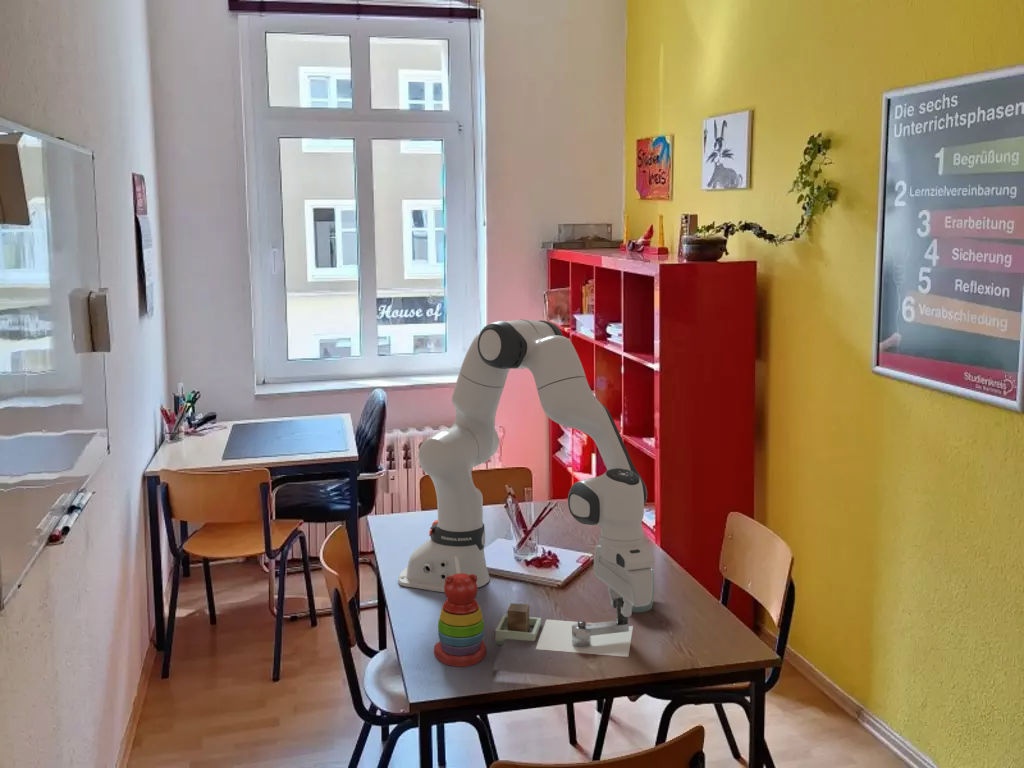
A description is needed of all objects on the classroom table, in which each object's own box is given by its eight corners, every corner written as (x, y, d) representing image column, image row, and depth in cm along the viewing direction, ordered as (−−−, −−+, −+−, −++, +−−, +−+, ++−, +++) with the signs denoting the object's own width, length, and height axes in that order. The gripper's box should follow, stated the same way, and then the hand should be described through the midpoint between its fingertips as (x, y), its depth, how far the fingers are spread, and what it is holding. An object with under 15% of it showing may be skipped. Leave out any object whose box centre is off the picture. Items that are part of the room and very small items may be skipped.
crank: (575, 647, 200) (575, 608, 198) (569, 639, 203) (569, 601, 202) (630, 640, 203) (631, 602, 201) (623, 633, 206) (624, 595, 205)
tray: (495, 644, 205) (495, 630, 205) (503, 627, 214) (503, 614, 213) (534, 647, 204) (534, 634, 203) (540, 630, 212) (541, 617, 212)
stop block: (507, 637, 207) (507, 610, 206) (511, 629, 211) (511, 603, 210) (526, 638, 206) (526, 612, 205) (529, 630, 210) (529, 604, 209)
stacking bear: (484, 644, 206) (484, 563, 202) (490, 665, 196) (489, 582, 193) (433, 647, 204) (432, 566, 201) (436, 669, 194) (435, 584, 191)
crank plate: (535, 655, 200) (535, 648, 200) (546, 625, 215) (546, 619, 214) (628, 663, 197) (628, 656, 196) (632, 632, 211) (633, 625, 211)
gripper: (586, 534, 210) (586, 595, 212) (630, 565, 191) (629, 631, 193) (612, 531, 212) (612, 591, 214) (659, 561, 193) (657, 627, 196)
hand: (620, 611), depth 204 cm, fingers open, 3 cm apart
